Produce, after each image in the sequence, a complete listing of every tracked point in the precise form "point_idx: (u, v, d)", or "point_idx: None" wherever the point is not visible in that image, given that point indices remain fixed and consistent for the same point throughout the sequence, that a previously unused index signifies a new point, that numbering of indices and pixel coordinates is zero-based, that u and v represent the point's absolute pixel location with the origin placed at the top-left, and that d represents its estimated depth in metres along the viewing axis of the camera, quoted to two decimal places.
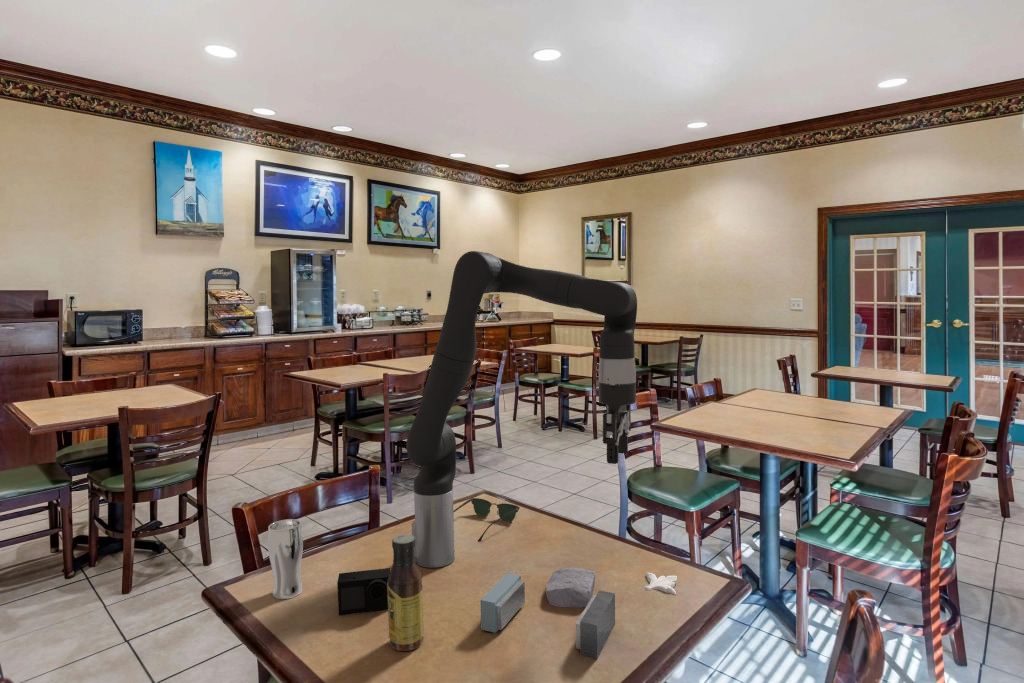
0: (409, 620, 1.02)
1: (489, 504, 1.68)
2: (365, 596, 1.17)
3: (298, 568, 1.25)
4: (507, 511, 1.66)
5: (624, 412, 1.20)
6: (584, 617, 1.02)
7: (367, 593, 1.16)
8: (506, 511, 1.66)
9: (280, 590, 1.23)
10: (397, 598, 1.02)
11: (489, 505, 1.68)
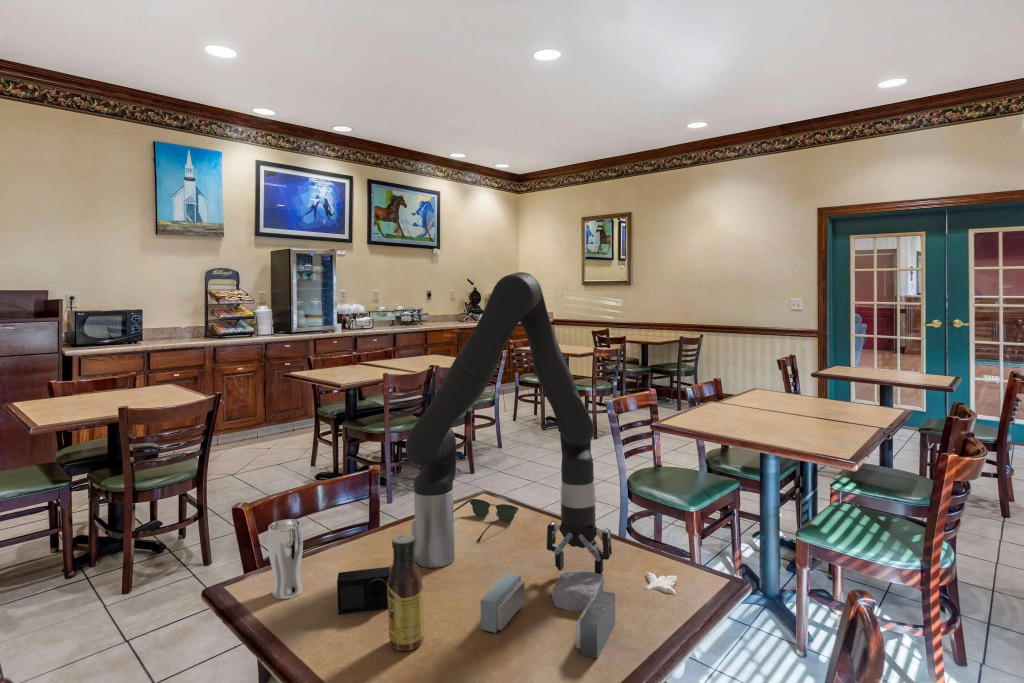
0: (409, 620, 1.02)
1: (488, 505, 1.68)
2: (365, 595, 1.17)
3: (298, 568, 1.25)
4: (506, 512, 1.65)
5: None
6: (584, 617, 1.02)
7: (367, 592, 1.16)
8: (505, 512, 1.65)
9: (280, 590, 1.23)
10: (397, 598, 1.02)
11: (488, 506, 1.68)
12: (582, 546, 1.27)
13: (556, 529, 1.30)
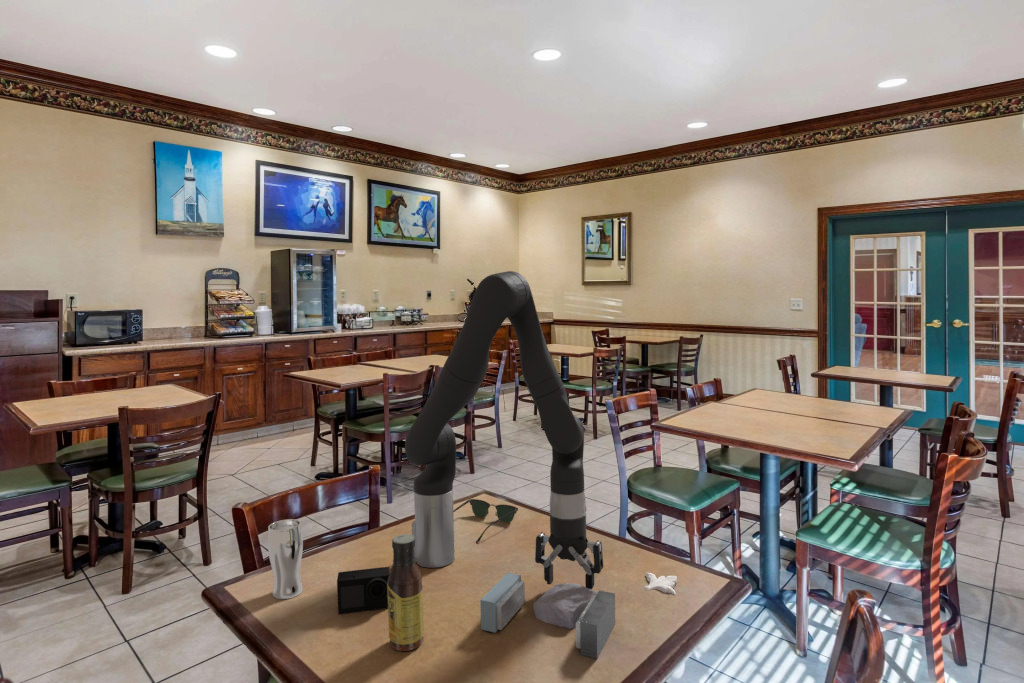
0: (409, 620, 1.02)
1: (487, 505, 1.68)
2: (365, 595, 1.17)
3: (298, 568, 1.25)
4: (505, 512, 1.65)
5: None
6: (584, 617, 1.02)
7: (367, 591, 1.16)
8: (505, 512, 1.65)
9: (280, 590, 1.23)
10: (397, 598, 1.02)
11: (487, 506, 1.68)
12: (572, 559, 1.21)
13: (545, 541, 1.24)
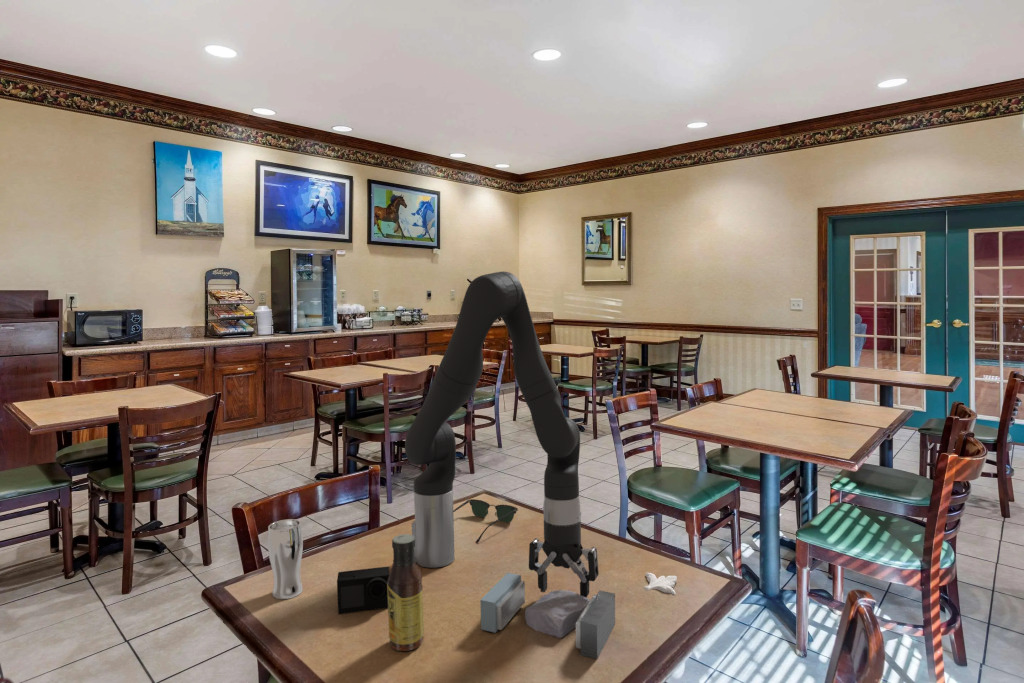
0: (409, 620, 1.02)
1: (487, 505, 1.67)
2: (365, 594, 1.17)
3: (298, 568, 1.25)
4: (505, 512, 1.65)
5: None
6: (584, 617, 1.02)
7: (367, 591, 1.16)
8: (504, 512, 1.65)
9: (280, 590, 1.23)
10: (397, 598, 1.02)
11: (487, 506, 1.67)
12: (566, 566, 1.17)
13: (539, 547, 1.20)
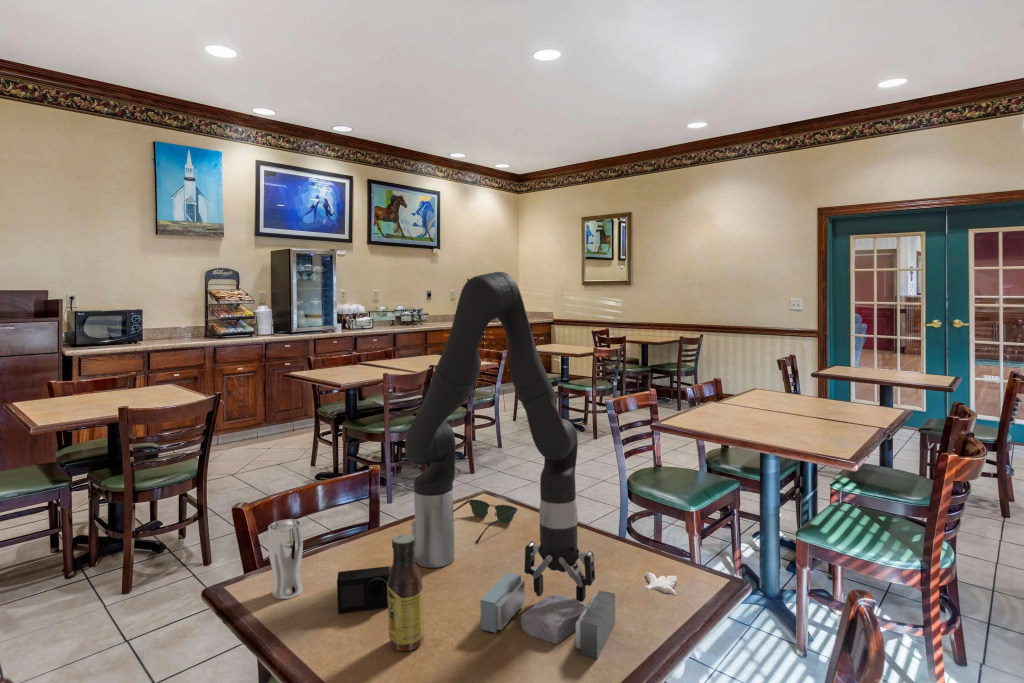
0: (409, 620, 1.02)
1: (487, 505, 1.67)
2: (365, 594, 1.17)
3: (298, 568, 1.25)
4: (505, 512, 1.65)
5: None
6: (584, 617, 1.02)
7: (367, 591, 1.16)
8: (504, 512, 1.65)
9: (280, 590, 1.23)
10: (397, 598, 1.02)
11: (487, 506, 1.67)
12: (563, 570, 1.16)
13: (535, 551, 1.19)
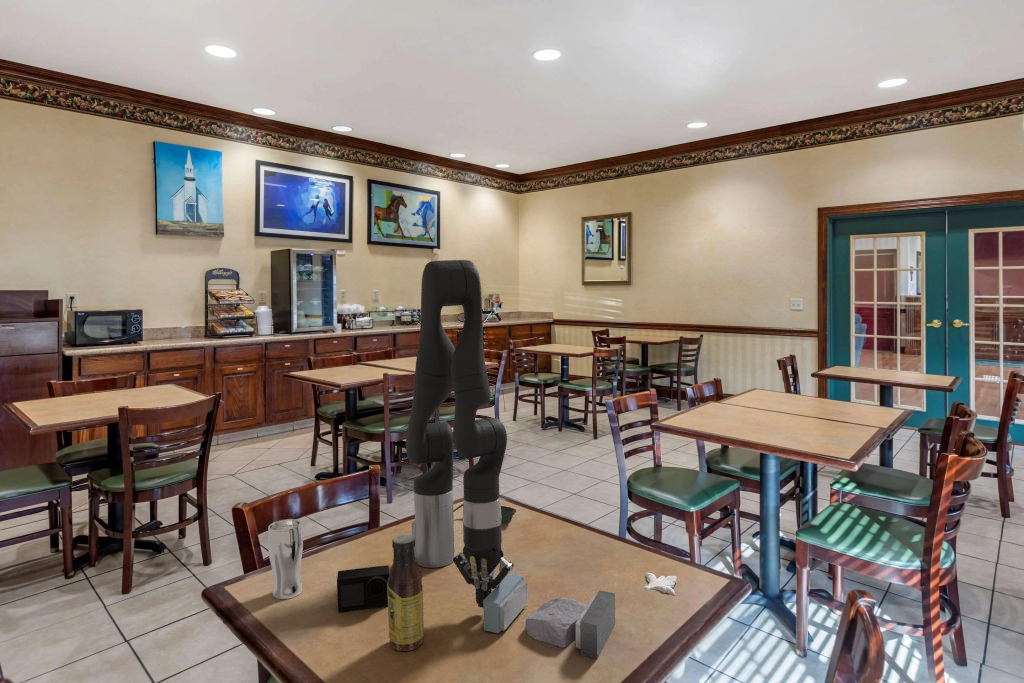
0: (409, 620, 1.02)
1: None
2: (364, 593, 1.18)
3: (298, 568, 1.25)
4: (504, 514, 1.64)
5: None
6: (584, 617, 1.02)
7: (366, 590, 1.17)
8: (503, 513, 1.64)
9: (280, 590, 1.23)
10: (397, 598, 1.02)
11: None
12: None
13: (463, 558, 1.16)
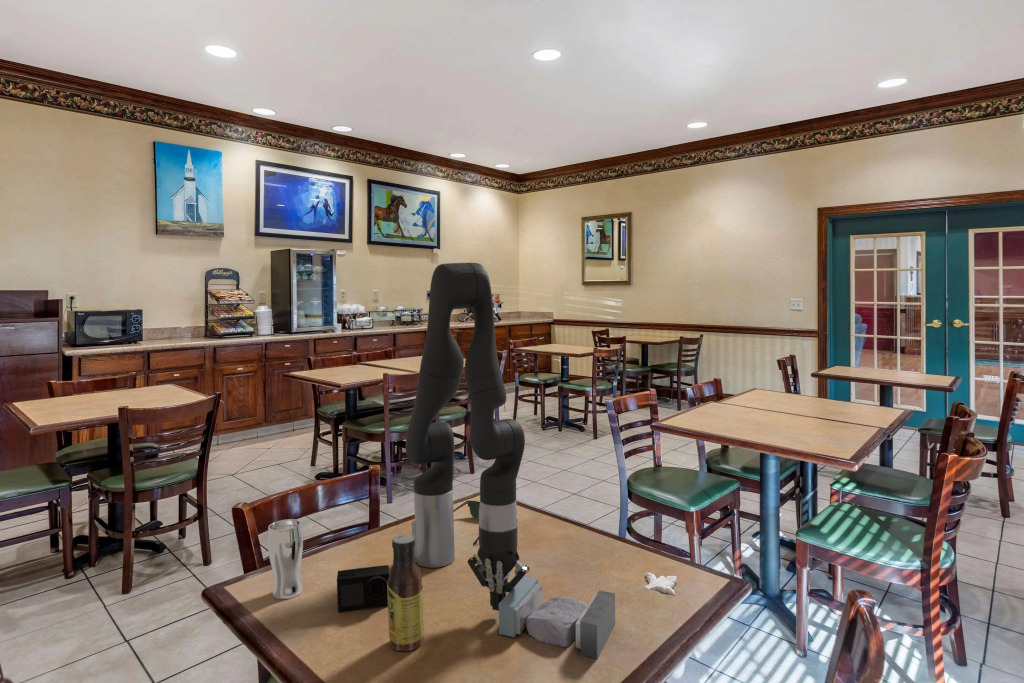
0: (409, 620, 1.02)
1: None
2: (364, 593, 1.18)
3: (298, 568, 1.25)
4: None
5: None
6: (584, 617, 1.02)
7: (366, 590, 1.17)
8: None
9: (280, 590, 1.23)
10: (397, 598, 1.02)
11: None
12: None
13: (478, 560, 1.15)
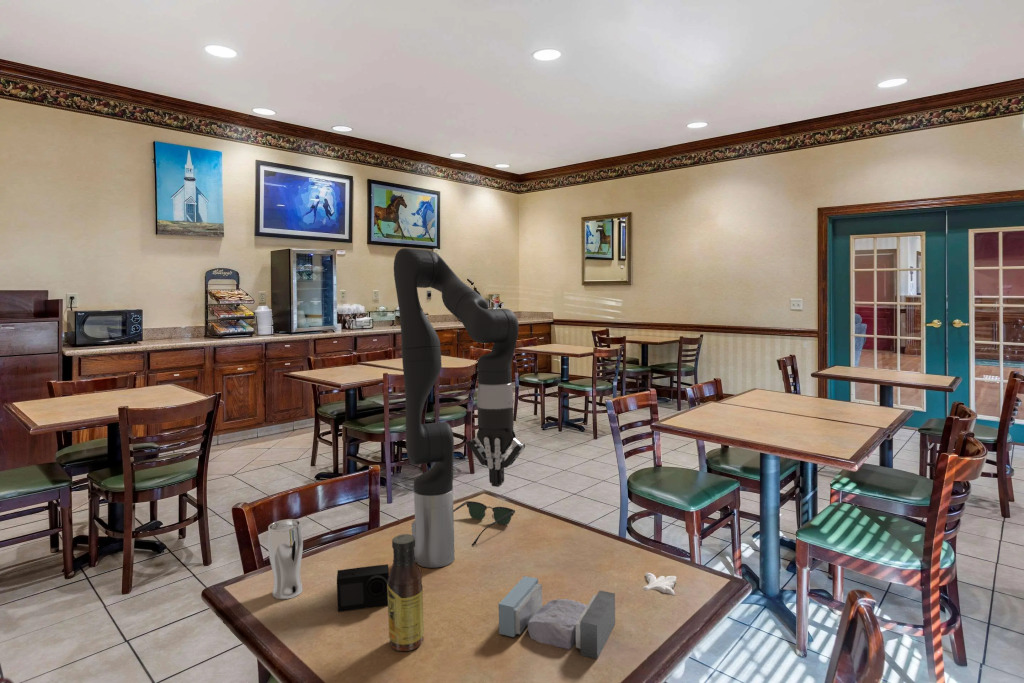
0: (409, 620, 1.02)
1: (484, 507, 1.66)
2: (364, 592, 1.18)
3: (298, 568, 1.25)
4: (502, 514, 1.63)
5: None
6: (584, 617, 1.02)
7: (366, 589, 1.17)
8: (502, 514, 1.63)
9: (280, 590, 1.23)
10: (397, 598, 1.02)
11: (484, 508, 1.66)
12: None
13: (477, 441, 1.24)
